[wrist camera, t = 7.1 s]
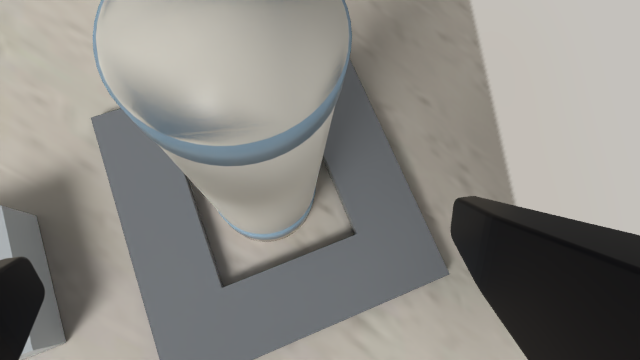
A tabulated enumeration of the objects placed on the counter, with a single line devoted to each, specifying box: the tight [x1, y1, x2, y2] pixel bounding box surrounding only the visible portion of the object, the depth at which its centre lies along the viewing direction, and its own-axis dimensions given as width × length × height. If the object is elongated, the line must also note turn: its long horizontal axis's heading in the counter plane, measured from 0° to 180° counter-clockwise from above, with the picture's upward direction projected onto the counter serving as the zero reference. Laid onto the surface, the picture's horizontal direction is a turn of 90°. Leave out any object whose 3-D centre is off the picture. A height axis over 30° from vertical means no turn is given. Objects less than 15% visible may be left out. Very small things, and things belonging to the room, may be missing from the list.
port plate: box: [91, 58, 449, 360], centre depth 21 cm, size 14×14×1 cm
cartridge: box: [93, 0, 352, 242], centre depth 14 cm, size 5×5×14 cm
